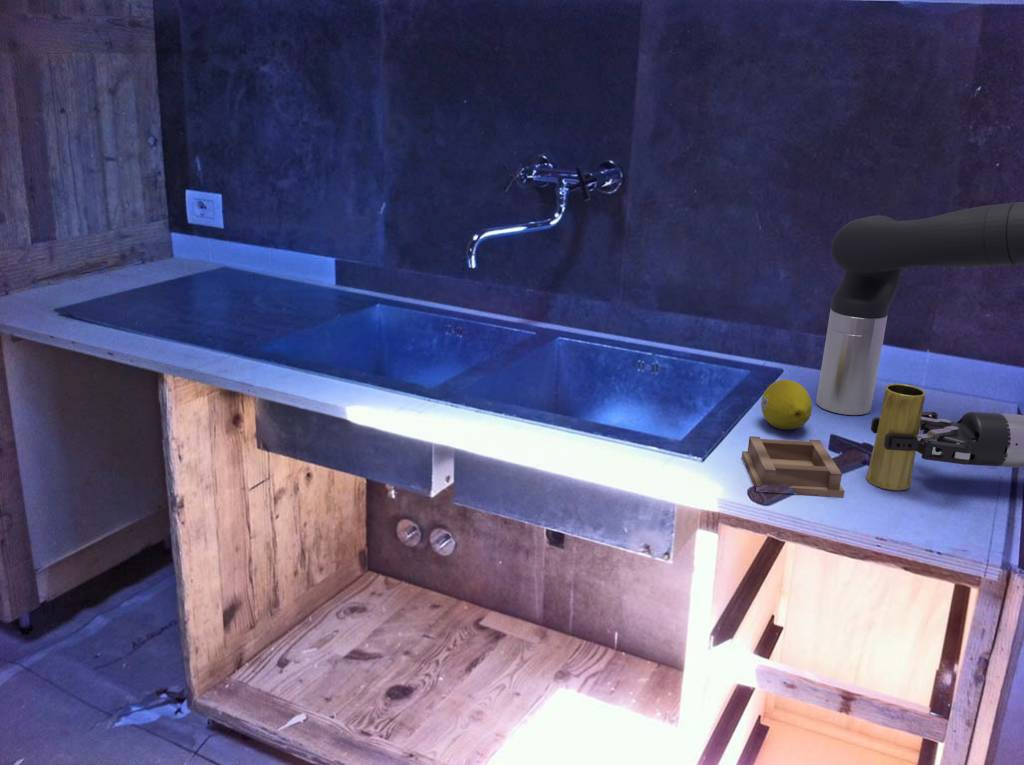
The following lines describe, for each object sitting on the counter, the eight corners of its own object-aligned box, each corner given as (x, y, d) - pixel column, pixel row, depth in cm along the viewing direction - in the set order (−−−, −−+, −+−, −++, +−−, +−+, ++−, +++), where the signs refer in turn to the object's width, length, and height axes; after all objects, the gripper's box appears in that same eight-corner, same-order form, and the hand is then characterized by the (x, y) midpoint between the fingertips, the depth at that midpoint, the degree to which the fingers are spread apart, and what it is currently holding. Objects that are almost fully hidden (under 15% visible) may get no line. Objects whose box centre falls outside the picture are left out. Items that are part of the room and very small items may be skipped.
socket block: (741, 457, 142) (744, 435, 141) (821, 461, 142) (825, 440, 140) (756, 492, 131) (759, 469, 130) (843, 497, 130) (847, 474, 129)
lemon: (755, 414, 160) (761, 370, 157) (802, 418, 159) (809, 373, 156) (762, 438, 149) (768, 391, 147) (812, 443, 148) (819, 396, 146)
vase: (910, 494, 132) (929, 399, 127) (864, 486, 134) (881, 392, 129) (910, 477, 137) (928, 386, 132) (866, 470, 139) (882, 379, 135)
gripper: (984, 397, 138) (867, 391, 139) (1029, 435, 124) (899, 427, 125) (973, 444, 140) (859, 437, 141) (1016, 486, 127) (890, 478, 128)
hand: (879, 433), depth 133 cm, fingers closed on vase, 5 cm apart
